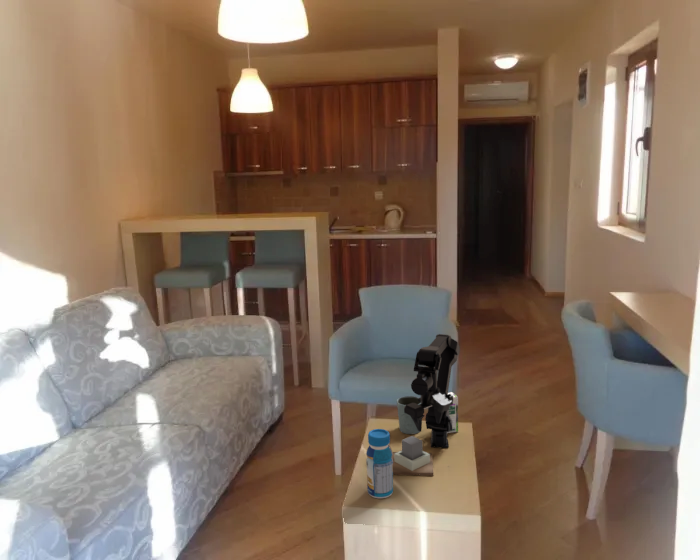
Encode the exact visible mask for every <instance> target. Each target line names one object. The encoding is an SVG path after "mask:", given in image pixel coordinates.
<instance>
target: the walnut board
mask: <svg viewBox="0 0 700 560" xmlns="http://www.w3.org/2000/svg"><path fill="white" fill-rule="evenodd" d="M397 452H398V451H392V453H393V454H392V458H393V476H394V474H395V476H396V475H397V474H398V475H399V476H402V475H403V476H427V477H428V476H434V462H433V453H432V452H427V453H428V454H430V463H428V464H426V465H424V466H421V467H419V468H417V469H415V470H413V471H411V470H409V469H408V468H406V467H404V466H402V465H400V464H398V463H396V462H395V457H394V453H397ZM398 475H397V476H398Z"/></svg>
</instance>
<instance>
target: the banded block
mask: <svg viewBox="0 0 700 560" xmlns="http://www.w3.org/2000/svg"><path fill="white" fill-rule="evenodd" d="M401 450H402V456H404V457H406V458H408V459H410V460H414V459H417V458H419V457H421V456H423V451H424V450H423V439H420V438H418V437H416V436H415V435H411V436H408V437H406V438H404V439H401Z"/></svg>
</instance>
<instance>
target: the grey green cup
mask: <svg viewBox="0 0 700 560" xmlns="http://www.w3.org/2000/svg"><path fill="white" fill-rule="evenodd" d="M418 398H420V397H418V396H415V395H414V396H413V395H406V396H405V395H404V396H401V397H399V398H397V399H396V407H397V416H398V424H399V431H400V432H401V433H402V434H406V435H416V434H419V433H420V432H419V431H418V429H417V427H416V425H415V423H414V421H413V420H412V418H411V416H410V415H408V414H406V413H404V407H405V406H406V405H408V404H410V403H416V404H418V405H419V404H421V402H419V401H418Z"/></svg>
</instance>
